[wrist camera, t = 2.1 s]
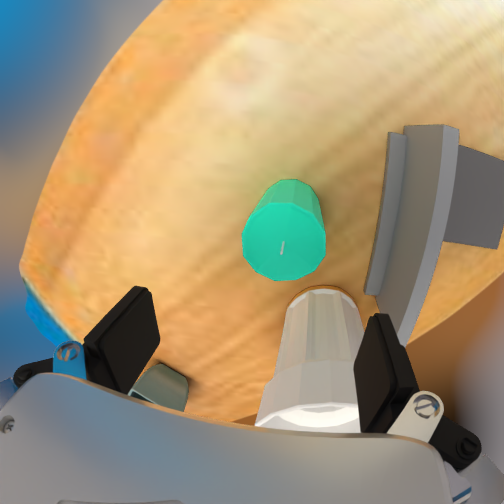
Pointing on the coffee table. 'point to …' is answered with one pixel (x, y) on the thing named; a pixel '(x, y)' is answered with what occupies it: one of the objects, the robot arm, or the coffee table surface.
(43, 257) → the coffee table surface
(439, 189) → the board
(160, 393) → the flower pot
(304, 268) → the candle
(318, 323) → the cup
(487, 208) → the mat
